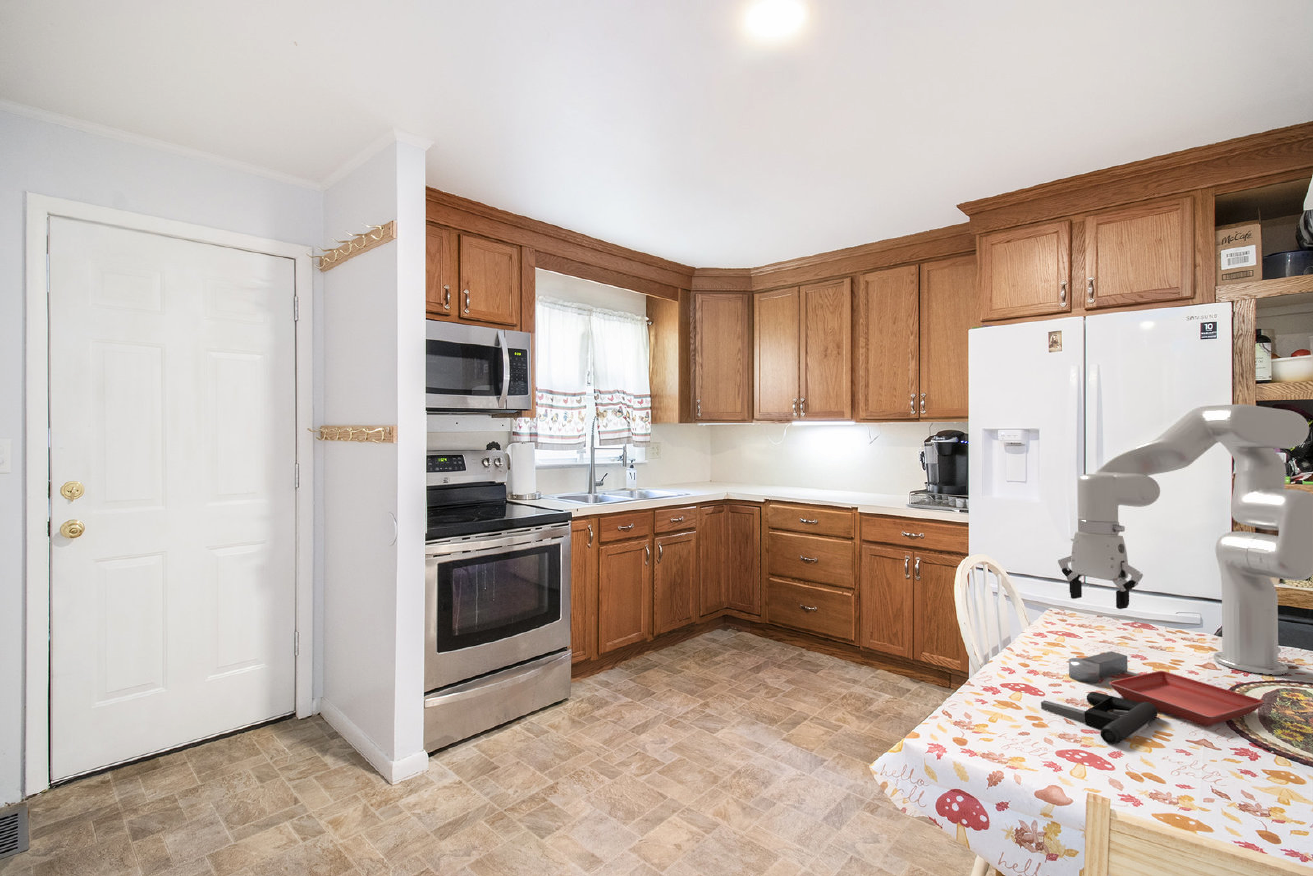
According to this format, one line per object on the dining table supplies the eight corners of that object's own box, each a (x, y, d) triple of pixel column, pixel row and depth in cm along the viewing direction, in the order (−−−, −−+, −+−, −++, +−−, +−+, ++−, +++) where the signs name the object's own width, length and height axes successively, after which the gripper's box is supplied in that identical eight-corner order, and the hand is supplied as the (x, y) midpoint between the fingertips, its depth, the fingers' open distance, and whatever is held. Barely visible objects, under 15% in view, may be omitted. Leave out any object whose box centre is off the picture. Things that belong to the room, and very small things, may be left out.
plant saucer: (1107, 696, 128) (1106, 681, 128) (1161, 684, 134) (1161, 669, 134) (1211, 735, 111) (1210, 717, 111) (1267, 718, 117) (1267, 701, 117)
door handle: (1026, 705, 118) (1125, 733, 105) (1071, 682, 129) (1166, 704, 116) (1027, 723, 118) (1127, 752, 104) (1073, 698, 129) (1168, 722, 116)
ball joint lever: (1106, 665, 145) (1106, 649, 145) (1132, 673, 139) (1132, 657, 139) (1063, 676, 138) (1063, 660, 138) (1089, 685, 133) (1089, 668, 133)
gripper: (1150, 532, 132) (1151, 610, 132) (1068, 522, 148) (1069, 592, 148) (1131, 534, 129) (1131, 614, 129) (1049, 524, 145) (1049, 596, 145)
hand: (1098, 603), depth 139 cm, fingers open, 9 cm apart
